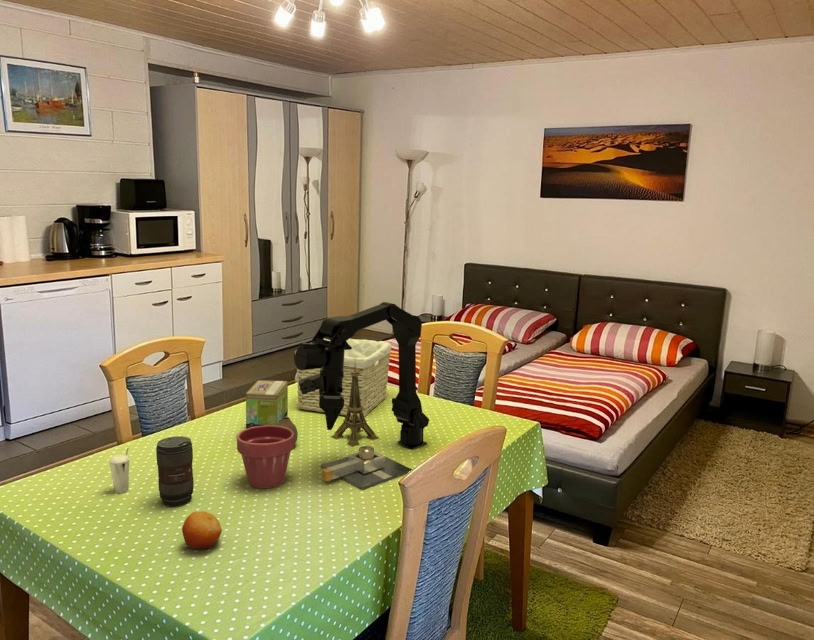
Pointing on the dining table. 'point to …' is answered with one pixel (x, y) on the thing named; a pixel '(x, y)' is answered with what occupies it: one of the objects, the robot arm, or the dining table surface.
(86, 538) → the dining table surface
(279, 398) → the tea box
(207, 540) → the fruit
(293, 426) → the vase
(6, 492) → the dining table surface
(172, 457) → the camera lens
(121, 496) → the dining table surface
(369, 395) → the basket
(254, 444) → the plant pot
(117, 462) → the milkshake
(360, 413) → the eiffel tower
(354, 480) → the post base
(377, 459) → the square nut with handle
